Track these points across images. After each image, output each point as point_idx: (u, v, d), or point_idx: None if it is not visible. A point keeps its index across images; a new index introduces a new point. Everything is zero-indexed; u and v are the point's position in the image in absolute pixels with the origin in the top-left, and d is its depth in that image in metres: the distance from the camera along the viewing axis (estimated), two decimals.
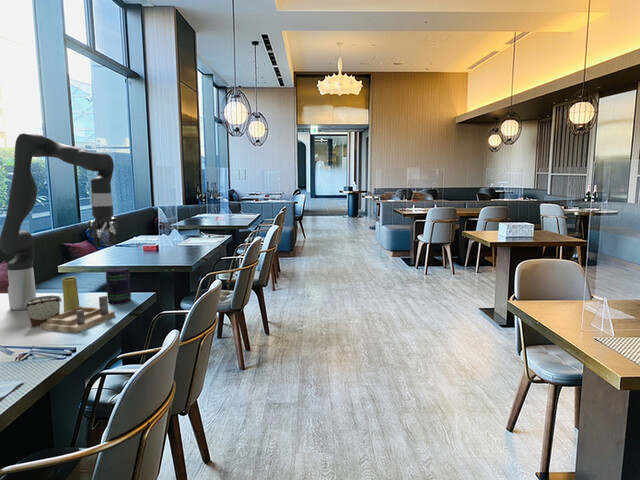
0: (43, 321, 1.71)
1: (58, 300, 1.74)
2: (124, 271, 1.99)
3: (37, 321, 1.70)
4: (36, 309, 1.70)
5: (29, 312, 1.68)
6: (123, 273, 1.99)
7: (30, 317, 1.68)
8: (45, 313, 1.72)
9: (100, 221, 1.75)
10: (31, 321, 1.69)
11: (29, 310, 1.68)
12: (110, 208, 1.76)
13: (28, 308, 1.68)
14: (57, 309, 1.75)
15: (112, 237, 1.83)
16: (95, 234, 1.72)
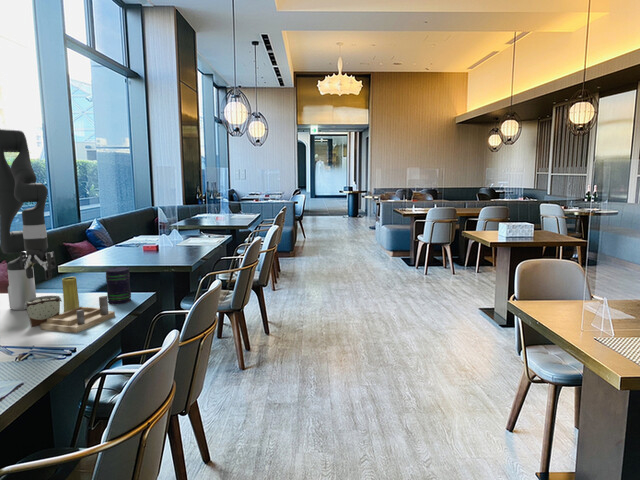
0: (43, 321, 1.71)
1: (58, 300, 1.74)
2: (124, 271, 1.99)
3: (37, 321, 1.70)
4: (36, 309, 1.70)
5: (29, 312, 1.68)
6: (123, 273, 1.99)
7: (30, 317, 1.68)
8: (45, 313, 1.72)
9: None
10: (31, 321, 1.69)
11: (29, 310, 1.68)
12: None
13: (28, 308, 1.68)
14: (57, 309, 1.75)
15: (31, 271, 1.73)
16: None
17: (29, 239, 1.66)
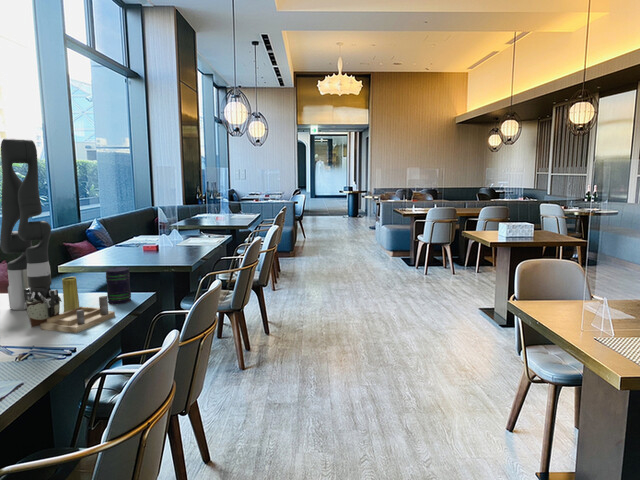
0: (43, 321, 1.71)
1: None
2: (124, 271, 1.99)
3: (37, 321, 1.70)
4: (36, 309, 1.70)
5: (29, 312, 1.68)
6: (123, 273, 1.99)
7: (30, 317, 1.68)
8: (45, 313, 1.72)
9: None
10: (31, 321, 1.69)
11: (29, 310, 1.68)
12: None
13: (28, 308, 1.67)
14: (57, 309, 1.74)
15: None
16: None
17: (33, 277, 1.68)
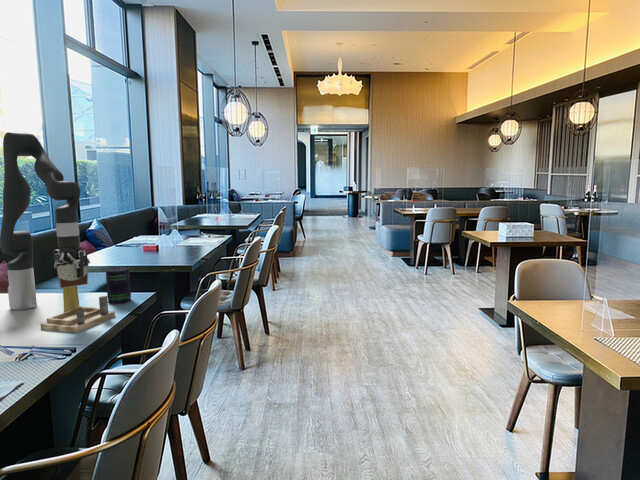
0: (72, 282, 1.70)
1: None
2: (124, 271, 1.99)
3: (66, 281, 1.69)
4: (66, 269, 1.68)
5: (59, 272, 1.67)
6: (123, 273, 1.99)
7: (60, 277, 1.67)
8: (74, 274, 1.71)
9: None
10: (60, 281, 1.67)
11: (59, 270, 1.67)
12: None
13: (58, 268, 1.66)
14: (86, 271, 1.73)
15: None
16: None
17: (63, 237, 1.66)
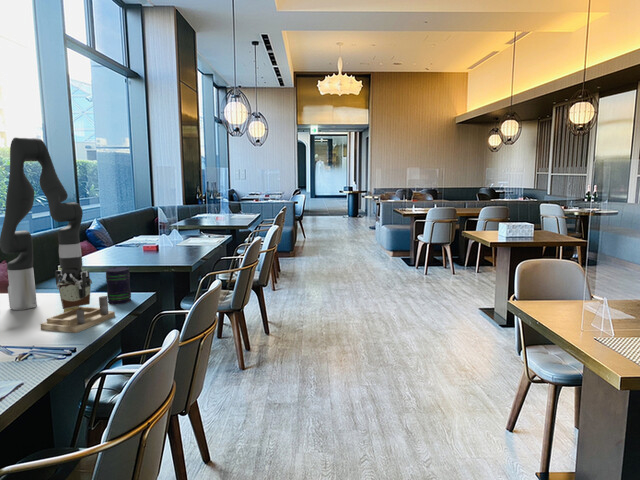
0: (74, 303, 1.72)
1: None
2: (124, 271, 1.99)
3: (69, 302, 1.70)
4: (68, 290, 1.70)
5: (61, 293, 1.68)
6: (123, 273, 1.99)
7: (62, 298, 1.68)
8: (76, 295, 1.72)
9: None
10: (63, 302, 1.69)
11: (61, 291, 1.68)
12: None
13: (60, 289, 1.68)
14: (88, 291, 1.75)
15: None
16: None
17: (65, 258, 1.68)
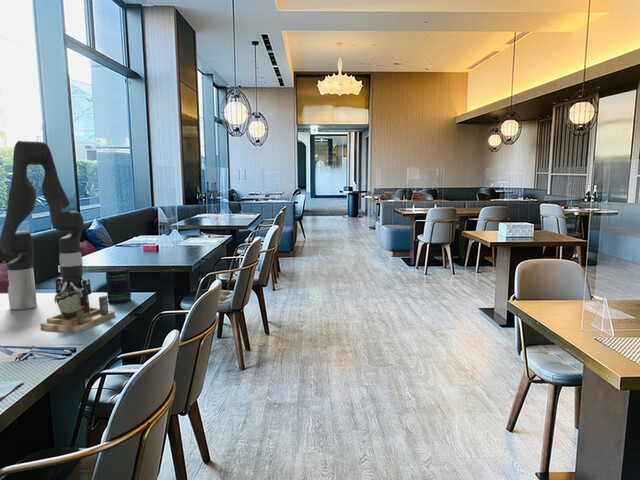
0: (75, 313, 1.72)
1: None
2: (124, 271, 1.99)
3: (69, 314, 1.71)
4: (67, 302, 1.69)
5: (60, 307, 1.68)
6: (123, 273, 1.99)
7: (62, 311, 1.69)
8: (75, 306, 1.72)
9: None
10: (63, 315, 1.69)
11: (60, 305, 1.68)
12: None
13: (58, 303, 1.67)
14: None
15: None
16: None
17: (66, 267, 1.68)
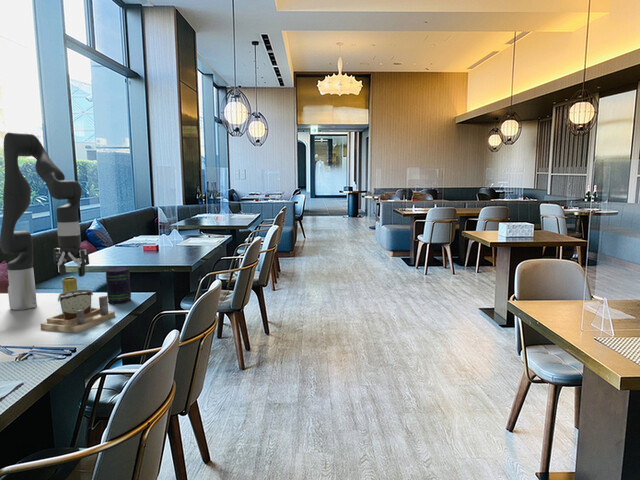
0: (76, 315, 1.73)
1: (90, 294, 1.76)
2: (124, 271, 1.99)
3: (70, 314, 1.71)
4: (70, 302, 1.71)
5: (63, 306, 1.69)
6: (123, 273, 1.99)
7: (63, 311, 1.69)
8: (77, 307, 1.73)
9: None
10: (64, 315, 1.70)
11: (63, 304, 1.69)
12: None
13: (62, 302, 1.68)
14: (89, 303, 1.76)
15: (64, 267, 1.74)
16: None
17: (64, 236, 1.66)
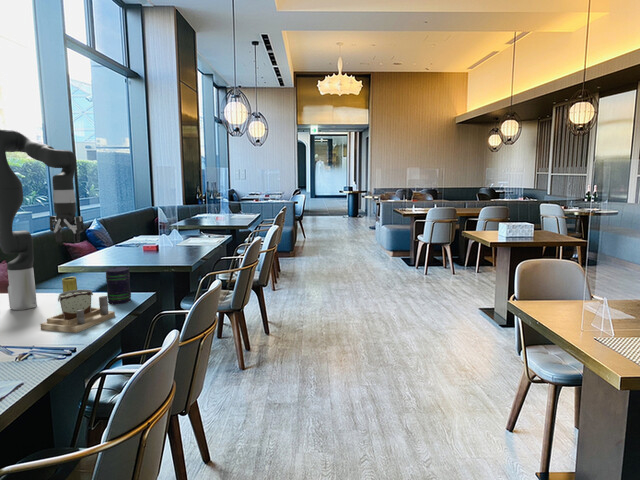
0: (76, 315, 1.73)
1: (90, 294, 1.76)
2: (124, 271, 1.99)
3: (70, 314, 1.71)
4: (70, 302, 1.71)
5: (63, 306, 1.69)
6: (123, 273, 1.99)
7: (63, 311, 1.69)
8: (77, 307, 1.73)
9: None
10: (64, 315, 1.70)
11: (63, 304, 1.69)
12: None
13: (62, 302, 1.68)
14: (89, 303, 1.76)
15: (60, 235, 1.81)
16: None
17: (60, 203, 1.73)
